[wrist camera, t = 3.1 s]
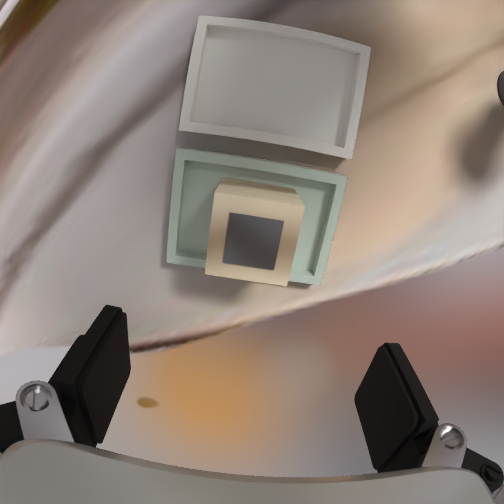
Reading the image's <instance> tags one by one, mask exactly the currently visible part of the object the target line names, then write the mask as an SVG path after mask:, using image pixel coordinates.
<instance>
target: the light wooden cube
mask: <svg viewBox="0 0 504 504" xmlns="http://www.w3.org/2000/svg"><path fill="white" fill-rule="evenodd" d="M304 209H305V206H304V204H303V202H302V201H301V199H300V197H299V196H298V194H297V192H296V191H295V189H293V188H287V187H281V186H275V185H270V184H264V183H257V182H251V181H245V180H238V179H232V178H225V177H223V179H222V180H221V182H220V184H219V186H218V187H217V189H216V191H215V194H214V201H213V209H212V217H211V224H210V233H209V241H208V249H207V258H206V267H205V274H207V275H214V276H220V277H227V278H233V279H240V280H247V281H253V282H260V283H267V284H274V285H281V286H287V284H288V280H289V276H290V272H291V267H292V263H293V259H294V254H295V250H296V246H297V241H298V237H299V232H300V228H301V223H302V219H303V214H304Z"/></svg>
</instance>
